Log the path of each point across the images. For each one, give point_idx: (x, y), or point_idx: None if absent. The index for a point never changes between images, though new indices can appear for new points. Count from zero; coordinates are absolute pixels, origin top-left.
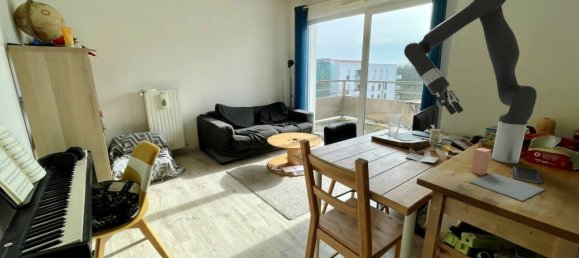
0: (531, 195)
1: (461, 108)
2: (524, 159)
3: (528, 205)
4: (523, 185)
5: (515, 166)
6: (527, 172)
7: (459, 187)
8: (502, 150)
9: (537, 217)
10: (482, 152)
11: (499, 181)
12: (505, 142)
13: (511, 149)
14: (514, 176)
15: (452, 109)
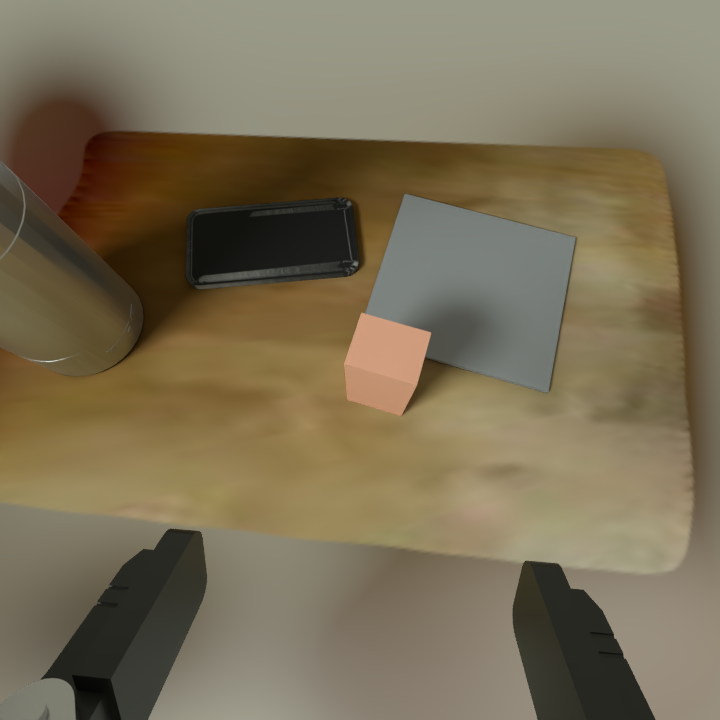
0: (505, 220)
1: (180, 564)
2: None
3: (587, 225)
4: (423, 242)
5: (192, 277)
6: (250, 238)
7: (635, 414)
8: (106, 309)
9: (653, 206)
10: (426, 346)
11: (448, 306)
12: (78, 279)
13: (103, 268)
14: (349, 269)
15: (607, 631)
